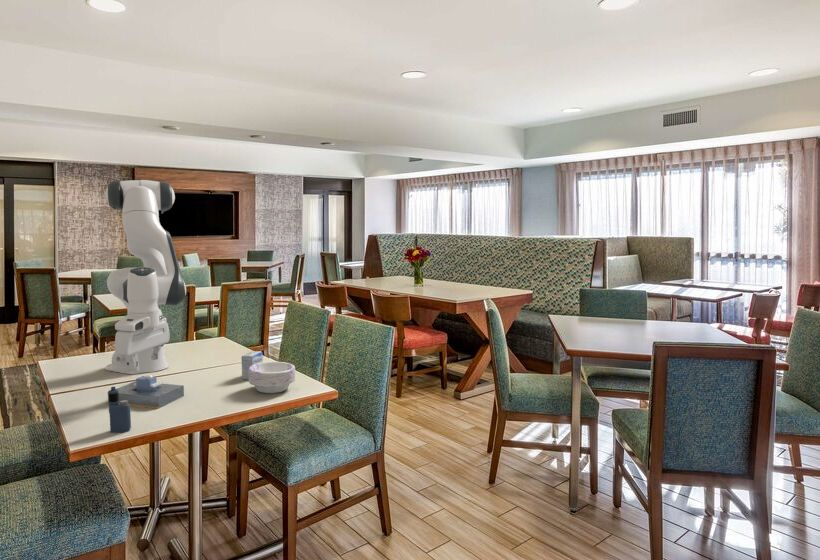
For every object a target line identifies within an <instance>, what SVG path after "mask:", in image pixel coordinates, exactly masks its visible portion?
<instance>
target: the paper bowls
mask: <svg viewBox="0 0 820 560" xmlns="http://www.w3.org/2000/svg"><path fill="white" fill-rule="evenodd" d="M295 380H296V366H295V365H294V364H292V363H289V362H283V361H263V363H258V364H254V365H252V366H250V368H249V380H248V382H249V384H250V385H252V386H254V387H255V389H256V391H258V392H260V393H263V394H278V393H282V392H284V391H286V390H287V389H288V388H289V386H290V385H291V384H293V383H294V382H295Z"/></svg>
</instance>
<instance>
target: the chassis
mask: <svg viewBox="0 0 820 560" xmlns="http://www.w3.org/2000/svg"><path fill="white" fill-rule="evenodd" d="M134 383H136V380H135V381H133V382H130V383H127V384H125V385H122V386H119V387H118V388H116V389H117V390H118V394H119V403H120V401H122V400H128V404H129V406H130V407H137V408H143V409H144V408H146V409H160V408H162V407H165V406H167V405H169V404H171V403H173V402H175V401H177V400H179V399H181V398H182V397H184V396H185V394H184V393H185V388H184V387H185V386H184V385H182V384H169V383H159V384H160V385H158V386H157V389H156V390H154V391H152V392H142V391H137V389H136V386H134ZM106 404H107V405H109V394H108V393H107V402H106Z"/></svg>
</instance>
